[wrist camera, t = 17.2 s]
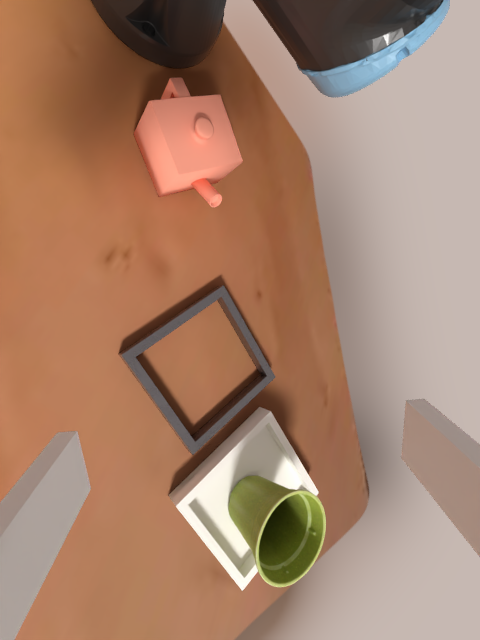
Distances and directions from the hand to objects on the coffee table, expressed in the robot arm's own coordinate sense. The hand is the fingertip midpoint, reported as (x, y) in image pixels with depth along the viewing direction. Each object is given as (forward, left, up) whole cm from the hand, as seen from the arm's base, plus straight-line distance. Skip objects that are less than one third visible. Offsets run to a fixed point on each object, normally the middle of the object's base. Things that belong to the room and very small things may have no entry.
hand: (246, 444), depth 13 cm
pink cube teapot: (-17, -16, -25) cm, 34 cm away
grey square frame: (-7, +5, -24) cm, 26 cm away
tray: (-3, +22, -24) cm, 33 cm away
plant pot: (-3, +23, -24) cm, 33 cm away
